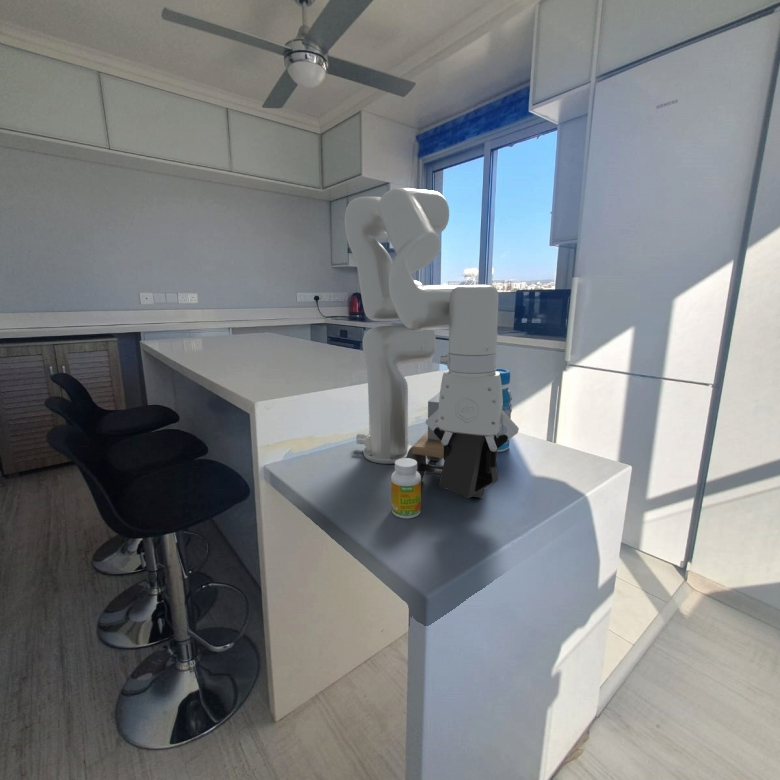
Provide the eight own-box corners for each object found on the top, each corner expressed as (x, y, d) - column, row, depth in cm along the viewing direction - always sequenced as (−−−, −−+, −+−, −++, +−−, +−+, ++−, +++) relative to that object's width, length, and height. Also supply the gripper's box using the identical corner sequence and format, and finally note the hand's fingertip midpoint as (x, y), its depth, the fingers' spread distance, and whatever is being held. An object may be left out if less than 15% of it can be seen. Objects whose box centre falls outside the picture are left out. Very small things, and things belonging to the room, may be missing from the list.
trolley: (478, 505, 77) (482, 415, 73) (404, 491, 83) (403, 407, 79) (497, 461, 97) (500, 388, 93) (435, 452, 103) (436, 383, 99)
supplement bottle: (399, 522, 72) (398, 470, 70) (387, 507, 77) (386, 459, 75) (426, 515, 74) (426, 465, 72) (412, 501, 79) (412, 454, 77)
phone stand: (467, 498, 66) (469, 427, 63) (438, 486, 70) (439, 419, 68) (498, 480, 72) (501, 414, 69) (470, 470, 76) (471, 408, 74)
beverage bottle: (493, 455, 100) (497, 375, 96) (469, 445, 107) (471, 369, 102) (516, 448, 105) (521, 371, 100) (492, 439, 112) (495, 366, 107)
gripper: (413, 365, 66) (414, 468, 71) (525, 370, 60) (519, 484, 64) (428, 358, 73) (428, 453, 77) (530, 362, 67) (524, 466, 71)
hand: (469, 466), depth 71 cm, fingers closed on phone stand, 6 cm apart
